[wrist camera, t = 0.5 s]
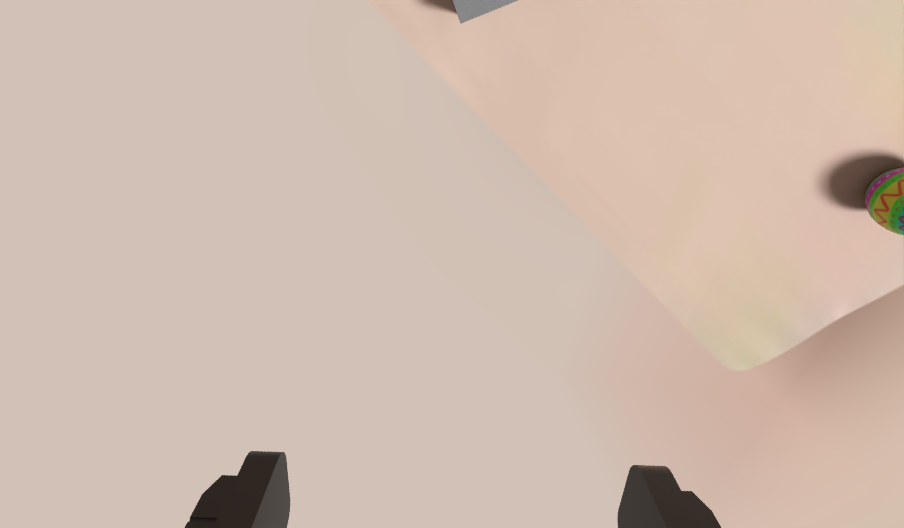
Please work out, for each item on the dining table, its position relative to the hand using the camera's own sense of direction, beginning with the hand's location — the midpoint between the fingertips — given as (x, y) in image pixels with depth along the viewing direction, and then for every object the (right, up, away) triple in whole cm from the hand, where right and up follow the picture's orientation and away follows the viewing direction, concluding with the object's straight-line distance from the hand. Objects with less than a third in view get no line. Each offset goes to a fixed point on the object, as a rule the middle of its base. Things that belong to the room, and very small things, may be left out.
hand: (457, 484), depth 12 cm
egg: (+35, +12, +29) cm, 47 cm away
